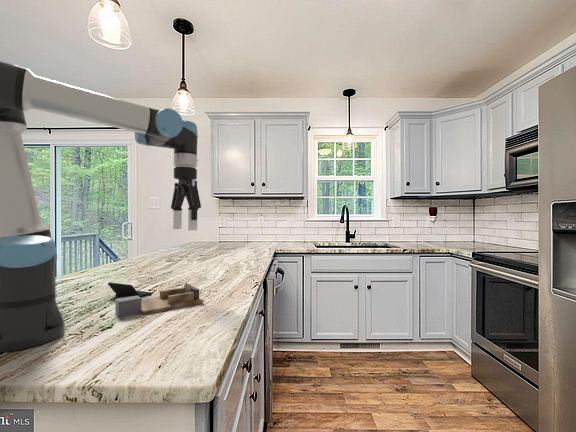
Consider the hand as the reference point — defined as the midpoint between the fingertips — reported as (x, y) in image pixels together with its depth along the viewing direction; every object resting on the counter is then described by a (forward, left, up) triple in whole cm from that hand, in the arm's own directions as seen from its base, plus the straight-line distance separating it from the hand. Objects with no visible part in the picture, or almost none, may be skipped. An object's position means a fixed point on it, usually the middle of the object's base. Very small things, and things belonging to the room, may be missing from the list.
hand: (184, 229), depth 107 cm
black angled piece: (-14, +15, -24) cm, 31 cm away
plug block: (-19, -6, -24) cm, 31 cm away
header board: (-7, -3, -23) cm, 25 cm away
